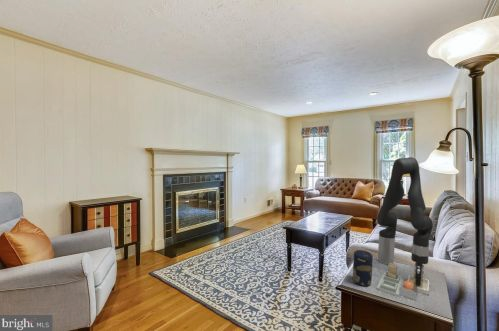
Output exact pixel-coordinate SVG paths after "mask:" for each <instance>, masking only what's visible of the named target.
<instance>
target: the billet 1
mask: <svg viewBox="0 0 499 331" xmlns="http://www.w3.org/2000/svg"><path fill="white" fill-rule="evenodd" d="M387 265H388V264H387ZM387 272H388V277H390V278H393V279H397V275H398V264H394V263H393V264H391V263H389V265H388V266H387Z"/></svg>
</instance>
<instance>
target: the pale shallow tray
mask: <svg viewBox="0 0 499 331" xmlns="http://www.w3.org/2000/svg"><path fill="white" fill-rule="evenodd" d="M406 281H411V282H413V283H414V274H413V275H412V274H408V276H407V280H406ZM429 291H430V280H429V279H427V278H424V277H423V287H422V288H419V287H417V294H421V295H423V296H424V295H425V296H428V297H429V295H430V294H429V293H430V292H429Z"/></svg>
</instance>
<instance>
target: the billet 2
mask: <svg viewBox="0 0 499 331" xmlns="http://www.w3.org/2000/svg"><path fill="white" fill-rule="evenodd" d="M413 276H414V286H417V285H415V282H416V279H415V269H414V272H413ZM418 277H420V276H418ZM423 278H424V270H423V275H422V276H421V284H420V286H417V287H419V288H422V287H423Z"/></svg>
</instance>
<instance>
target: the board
mask: <svg viewBox="0 0 499 331" xmlns="http://www.w3.org/2000/svg"><path fill="white" fill-rule="evenodd" d="M401 282H404V279H403V278H401V275H400V274H397V279H393V278H390V277H388V271H385V273H382V276H381V277H380V280H379V282H378V284H377V287H376V290H377V291H380V292H383V293H385V294H389V295H392V296H396V297H400V295H399V293H400V285H401Z"/></svg>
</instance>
